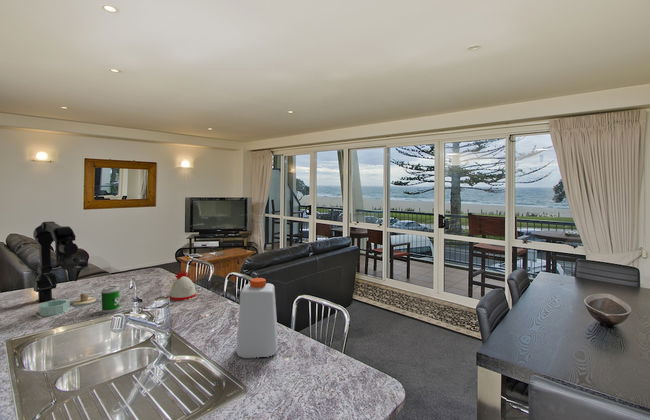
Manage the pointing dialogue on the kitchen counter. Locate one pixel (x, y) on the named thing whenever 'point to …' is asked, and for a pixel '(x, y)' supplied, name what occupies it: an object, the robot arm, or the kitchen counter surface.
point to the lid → (84, 300)
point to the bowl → (54, 307)
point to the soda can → (110, 299)
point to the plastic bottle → (257, 320)
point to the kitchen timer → (182, 287)
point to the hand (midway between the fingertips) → (64, 283)
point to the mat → (84, 305)
